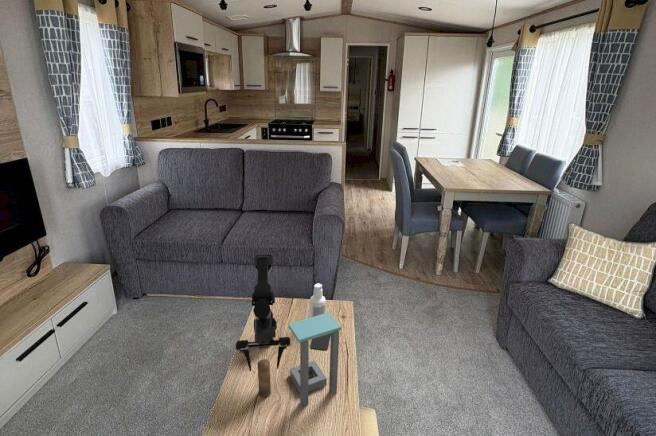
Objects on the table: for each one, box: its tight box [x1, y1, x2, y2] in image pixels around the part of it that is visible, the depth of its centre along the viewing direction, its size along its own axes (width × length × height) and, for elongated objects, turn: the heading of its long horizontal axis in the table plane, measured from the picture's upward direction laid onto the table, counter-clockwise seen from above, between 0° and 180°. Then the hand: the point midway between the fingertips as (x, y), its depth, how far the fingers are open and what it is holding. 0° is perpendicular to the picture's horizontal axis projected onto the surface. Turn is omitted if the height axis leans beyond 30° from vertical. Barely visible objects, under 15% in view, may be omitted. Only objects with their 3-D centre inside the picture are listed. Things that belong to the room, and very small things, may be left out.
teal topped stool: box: [287, 312, 342, 407], centre depth 129 cm, size 10×15×27 cm, turn 118°
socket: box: [289, 360, 328, 393], centre depth 138 cm, size 10×10×3 cm
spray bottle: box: [309, 282, 327, 318], centre depth 169 cm, size 7×7×18 cm
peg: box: [257, 358, 272, 399], centre depth 130 cm, size 4×4×13 cm
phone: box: [309, 333, 331, 351], centre depth 161 cm, size 7×1×15 cm
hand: (264, 370), depth 130 cm, fingers open, 9 cm apart
